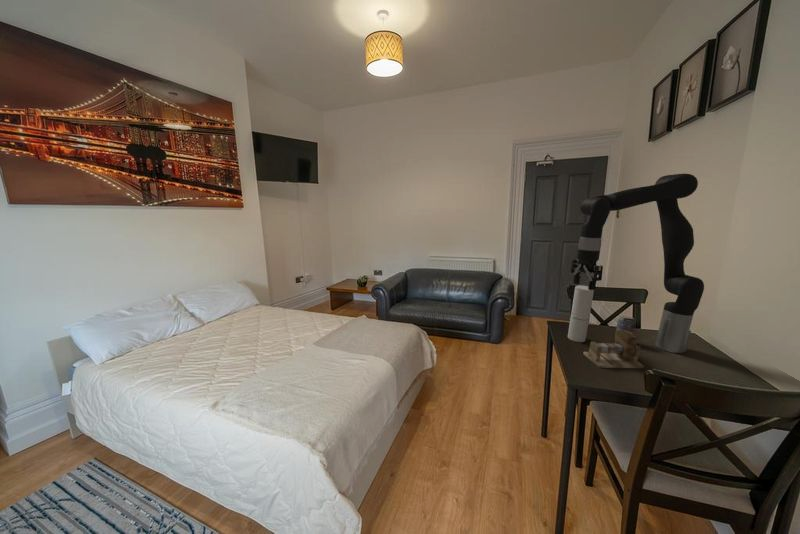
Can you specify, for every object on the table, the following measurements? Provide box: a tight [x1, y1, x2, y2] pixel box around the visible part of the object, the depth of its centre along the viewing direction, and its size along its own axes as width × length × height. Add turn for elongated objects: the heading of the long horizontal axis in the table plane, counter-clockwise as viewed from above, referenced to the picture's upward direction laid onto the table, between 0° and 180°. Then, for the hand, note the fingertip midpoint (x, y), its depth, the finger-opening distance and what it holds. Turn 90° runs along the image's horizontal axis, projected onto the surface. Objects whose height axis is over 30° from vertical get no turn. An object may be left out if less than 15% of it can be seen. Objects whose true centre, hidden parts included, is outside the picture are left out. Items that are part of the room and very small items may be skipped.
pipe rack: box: [582, 341, 645, 369], centre depth 113 cm, size 17×10×7 cm, turn 89°
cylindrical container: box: [567, 285, 595, 343], centre depth 129 cm, size 7×7×25 cm
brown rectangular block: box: [613, 330, 638, 360], centre depth 112 cm, size 4×6×10 cm, turn 179°
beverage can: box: [614, 315, 636, 338], centre depth 128 cm, size 6×7×12 cm
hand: (583, 286), depth 117 cm, fingers open, 8 cm apart
